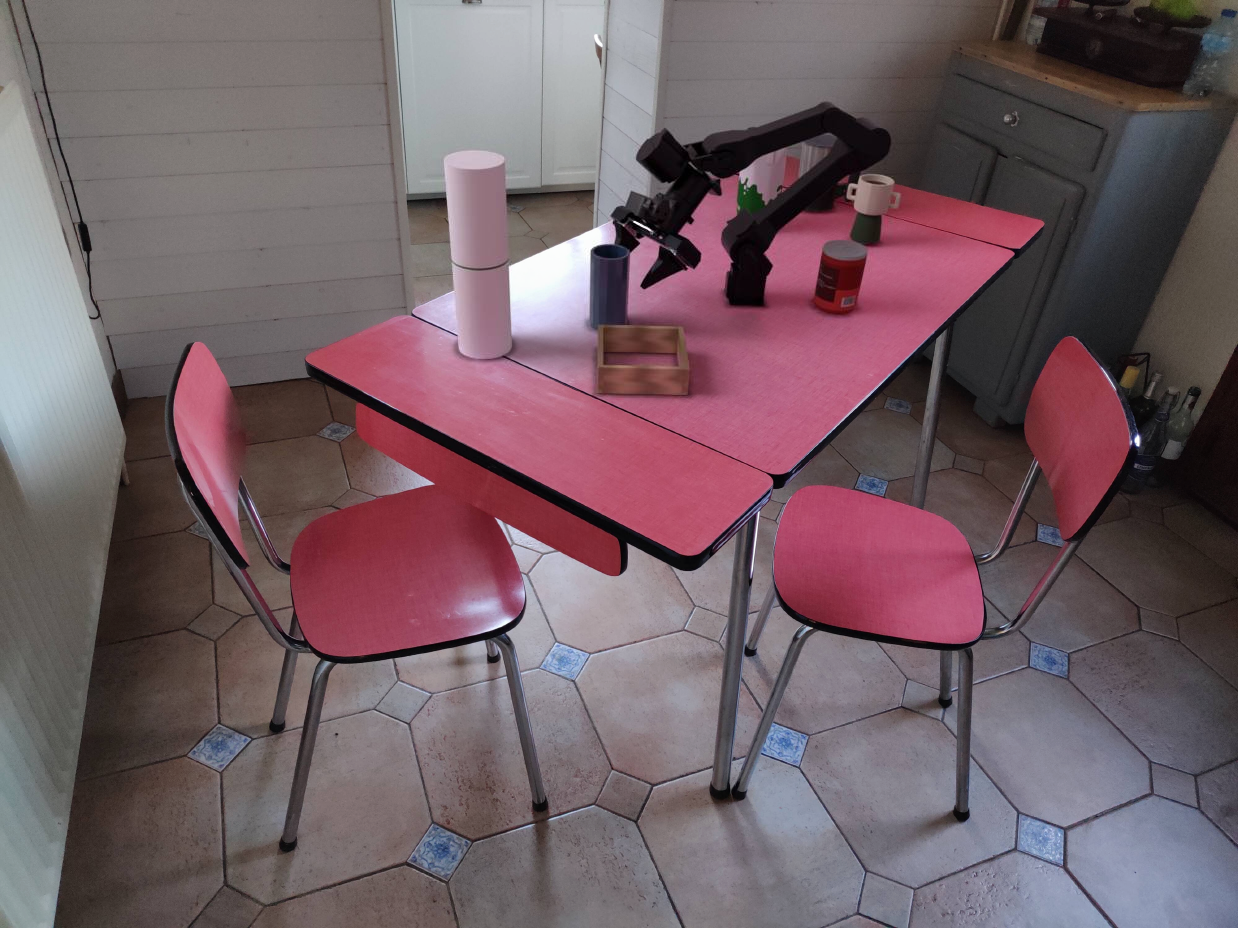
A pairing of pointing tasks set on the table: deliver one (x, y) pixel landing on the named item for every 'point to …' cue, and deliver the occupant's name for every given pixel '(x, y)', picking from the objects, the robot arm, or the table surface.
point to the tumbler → (609, 285)
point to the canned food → (840, 276)
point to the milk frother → (810, 157)
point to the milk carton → (761, 181)
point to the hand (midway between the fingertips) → (625, 278)
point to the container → (479, 251)
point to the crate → (642, 377)
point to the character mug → (871, 206)
